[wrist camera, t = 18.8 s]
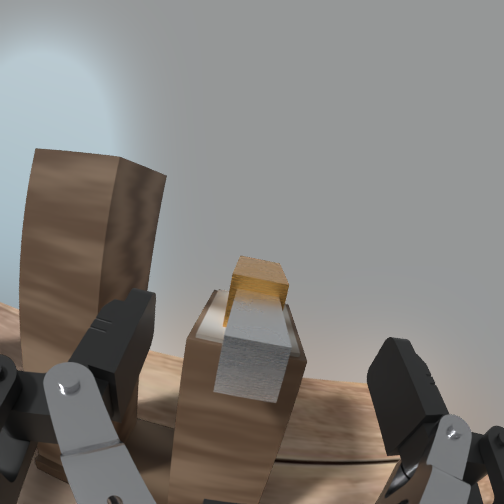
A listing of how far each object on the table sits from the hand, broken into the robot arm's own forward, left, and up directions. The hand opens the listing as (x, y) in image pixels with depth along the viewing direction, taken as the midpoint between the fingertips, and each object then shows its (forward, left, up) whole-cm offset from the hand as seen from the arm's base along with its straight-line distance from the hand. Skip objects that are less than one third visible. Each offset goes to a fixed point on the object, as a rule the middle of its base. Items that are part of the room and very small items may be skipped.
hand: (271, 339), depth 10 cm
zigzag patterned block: (-17, +6, -26) cm, 32 cm away
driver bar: (-9, +8, -4) cm, 13 cm away
